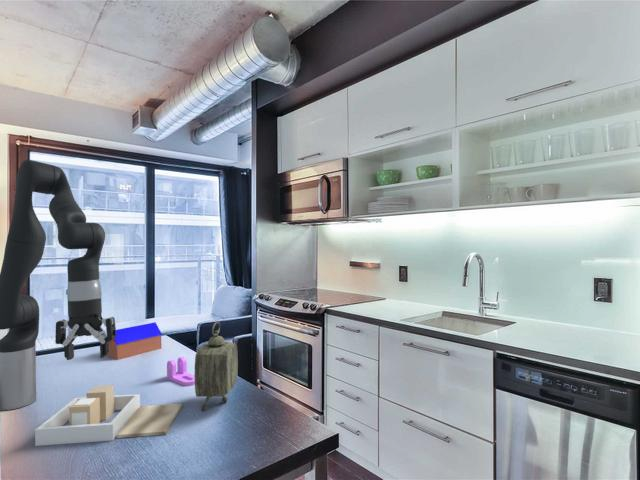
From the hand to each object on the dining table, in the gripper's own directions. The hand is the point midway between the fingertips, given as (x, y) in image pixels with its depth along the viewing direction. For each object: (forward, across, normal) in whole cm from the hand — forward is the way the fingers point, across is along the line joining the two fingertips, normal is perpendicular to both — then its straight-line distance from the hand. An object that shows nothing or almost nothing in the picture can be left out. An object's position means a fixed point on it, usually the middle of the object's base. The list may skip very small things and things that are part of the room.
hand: (87, 358), depth 97 cm
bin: (+19, 0, +2) cm, 19 cm away
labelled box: (+19, 0, -2) cm, 19 cm away
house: (+19, -17, +69) cm, 73 cm away
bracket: (+20, +16, +32) cm, 40 cm away
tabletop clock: (+20, +31, +12) cm, 39 cm away
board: (+19, +15, +3) cm, 25 cm away
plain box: (+19, -1, +7) cm, 20 cm away
